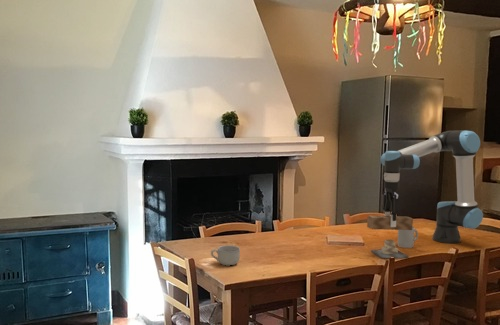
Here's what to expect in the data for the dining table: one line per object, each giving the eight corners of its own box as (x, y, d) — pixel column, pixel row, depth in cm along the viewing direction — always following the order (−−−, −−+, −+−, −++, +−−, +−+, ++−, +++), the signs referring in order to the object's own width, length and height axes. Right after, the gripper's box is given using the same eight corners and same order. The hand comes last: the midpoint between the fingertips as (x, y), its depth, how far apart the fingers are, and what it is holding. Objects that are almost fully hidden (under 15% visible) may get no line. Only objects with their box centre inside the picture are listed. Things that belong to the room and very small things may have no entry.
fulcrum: (395, 250, 254) (396, 237, 254) (408, 258, 241) (409, 243, 240) (371, 251, 252) (371, 237, 251) (382, 259, 238) (383, 244, 238)
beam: (406, 227, 250) (407, 216, 250) (412, 230, 244) (413, 218, 244) (367, 226, 246) (367, 215, 246) (371, 229, 240) (372, 217, 240)
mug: (403, 248, 259) (404, 228, 258) (394, 244, 267) (394, 225, 267) (422, 247, 263) (422, 227, 262) (412, 243, 271) (412, 224, 270)
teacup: (239, 261, 233) (239, 245, 233) (240, 267, 223) (240, 250, 222) (211, 261, 233) (211, 245, 232) (210, 267, 222) (210, 250, 221)
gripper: (376, 179, 252) (375, 222, 254) (393, 183, 233) (391, 229, 235) (390, 178, 253) (388, 221, 255) (407, 183, 235) (405, 229, 236)
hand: (390, 225), depth 245 cm, fingers closed on beam, 6 cm apart
